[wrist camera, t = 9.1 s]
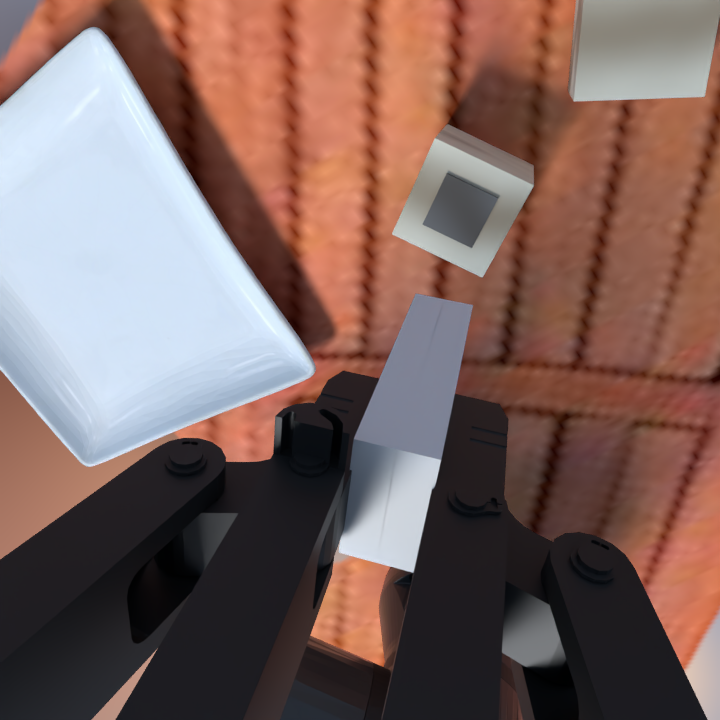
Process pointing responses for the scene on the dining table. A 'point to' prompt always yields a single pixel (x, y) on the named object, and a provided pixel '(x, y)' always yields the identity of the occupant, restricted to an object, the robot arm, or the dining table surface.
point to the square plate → (121, 268)
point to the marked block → (465, 200)
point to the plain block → (642, 49)
